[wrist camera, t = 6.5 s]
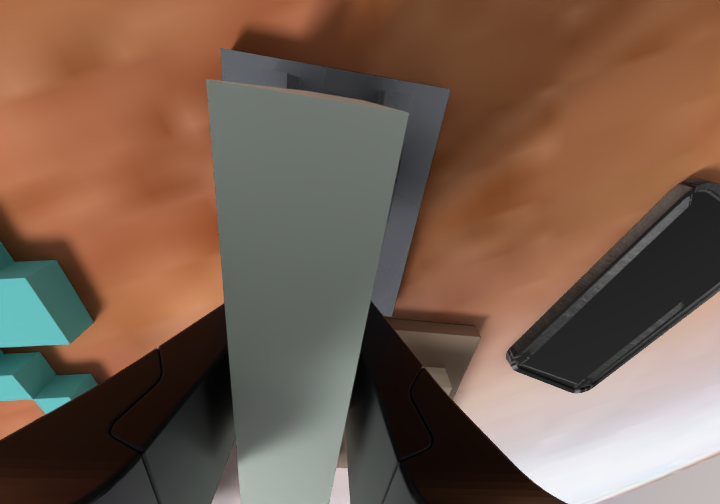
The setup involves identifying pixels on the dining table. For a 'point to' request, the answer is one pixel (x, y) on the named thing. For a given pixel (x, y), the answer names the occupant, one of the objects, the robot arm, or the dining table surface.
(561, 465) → the dining table surface
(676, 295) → the phone
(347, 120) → the panel
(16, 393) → the alien figure
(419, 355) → the rack
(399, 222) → the stand
